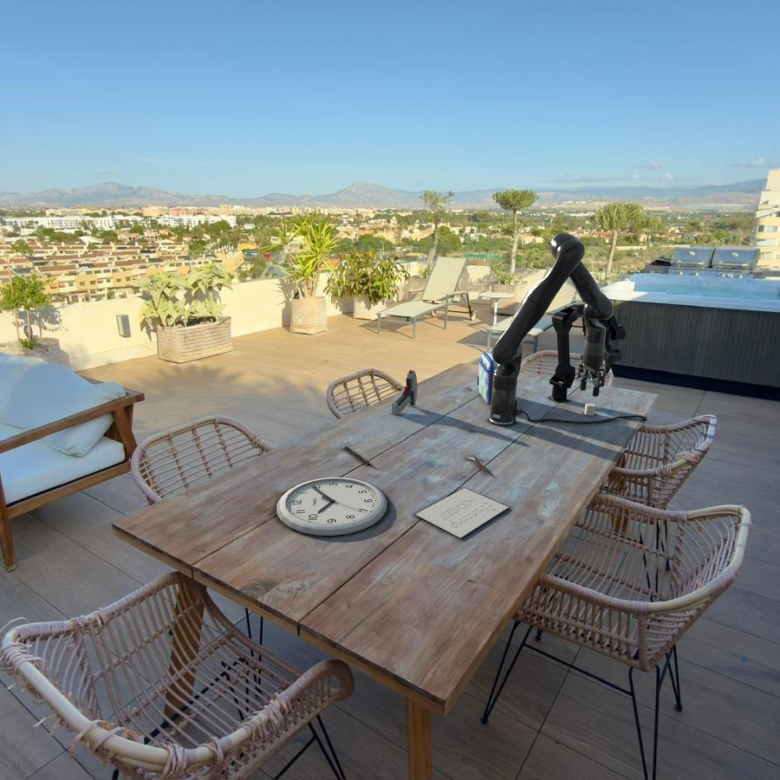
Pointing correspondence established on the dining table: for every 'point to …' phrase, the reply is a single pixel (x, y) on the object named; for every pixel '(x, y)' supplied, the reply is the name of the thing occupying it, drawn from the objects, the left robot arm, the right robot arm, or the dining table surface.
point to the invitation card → (461, 512)
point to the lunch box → (486, 375)
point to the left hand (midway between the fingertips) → (588, 393)
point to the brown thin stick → (357, 455)
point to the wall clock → (331, 506)
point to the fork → (474, 459)
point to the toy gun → (407, 394)
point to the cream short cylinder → (589, 409)
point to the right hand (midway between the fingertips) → (598, 374)
